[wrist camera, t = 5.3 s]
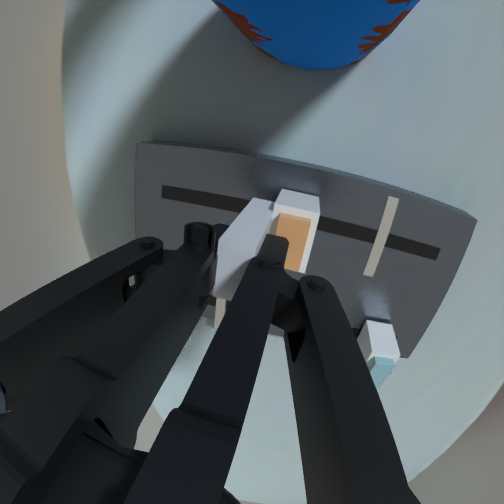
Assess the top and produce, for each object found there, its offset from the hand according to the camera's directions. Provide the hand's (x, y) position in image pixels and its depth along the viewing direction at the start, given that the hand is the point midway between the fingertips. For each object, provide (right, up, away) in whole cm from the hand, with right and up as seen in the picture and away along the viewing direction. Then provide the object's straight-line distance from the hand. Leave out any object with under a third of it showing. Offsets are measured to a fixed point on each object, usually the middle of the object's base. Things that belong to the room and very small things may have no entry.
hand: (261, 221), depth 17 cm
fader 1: (+2, 0, +1) cm, 3 cm away
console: (+3, -2, +5) cm, 6 cm away
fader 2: (+9, -9, +4) cm, 14 cm away
